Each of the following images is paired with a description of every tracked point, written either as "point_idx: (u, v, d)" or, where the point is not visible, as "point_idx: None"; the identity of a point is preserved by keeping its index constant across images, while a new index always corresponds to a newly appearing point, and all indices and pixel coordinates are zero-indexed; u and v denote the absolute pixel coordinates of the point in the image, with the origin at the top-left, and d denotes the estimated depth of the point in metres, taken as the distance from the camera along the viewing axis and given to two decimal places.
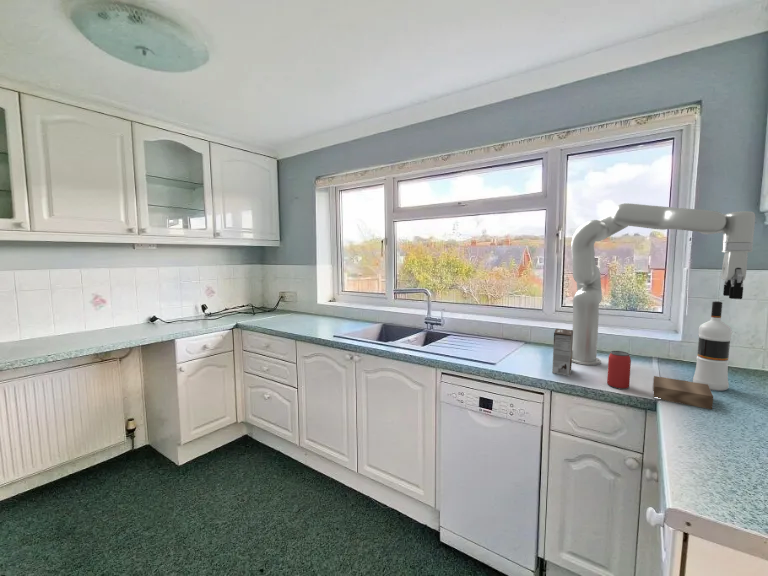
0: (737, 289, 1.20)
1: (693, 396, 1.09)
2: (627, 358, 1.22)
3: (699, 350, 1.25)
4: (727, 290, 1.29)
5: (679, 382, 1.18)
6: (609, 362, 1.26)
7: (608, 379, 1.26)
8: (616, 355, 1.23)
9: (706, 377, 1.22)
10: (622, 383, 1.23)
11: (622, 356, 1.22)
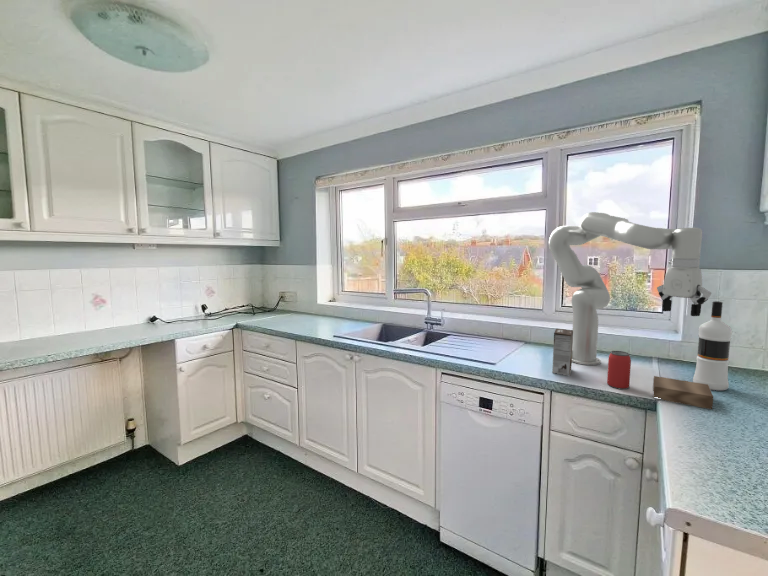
0: (699, 306, 1.19)
1: (693, 396, 1.09)
2: (627, 358, 1.22)
3: (699, 350, 1.25)
4: (666, 306, 1.29)
5: (679, 382, 1.18)
6: (609, 362, 1.26)
7: (608, 379, 1.26)
8: (616, 355, 1.23)
9: (706, 377, 1.22)
10: (622, 383, 1.23)
11: (622, 356, 1.22)
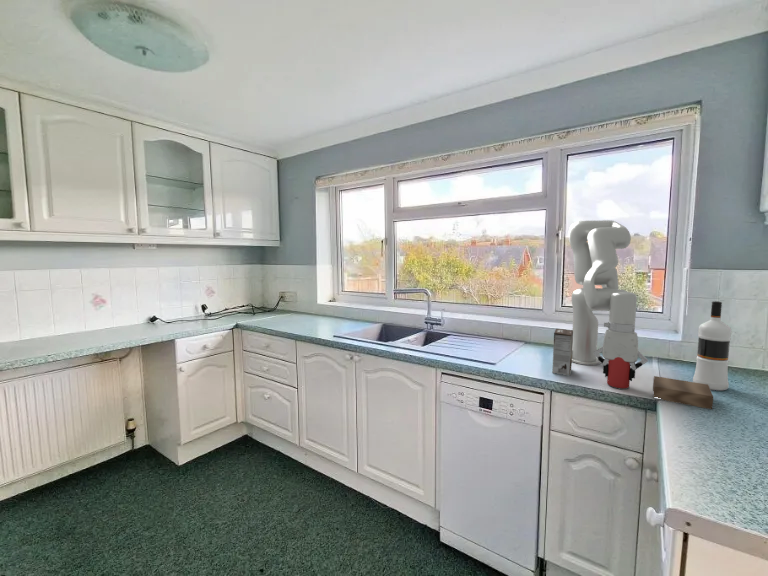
0: None
1: (693, 396, 1.09)
2: None
3: (699, 350, 1.25)
4: (607, 371, 1.27)
5: (679, 382, 1.18)
6: (609, 362, 1.26)
7: (608, 379, 1.26)
8: None
9: (706, 377, 1.22)
10: (622, 383, 1.23)
11: None
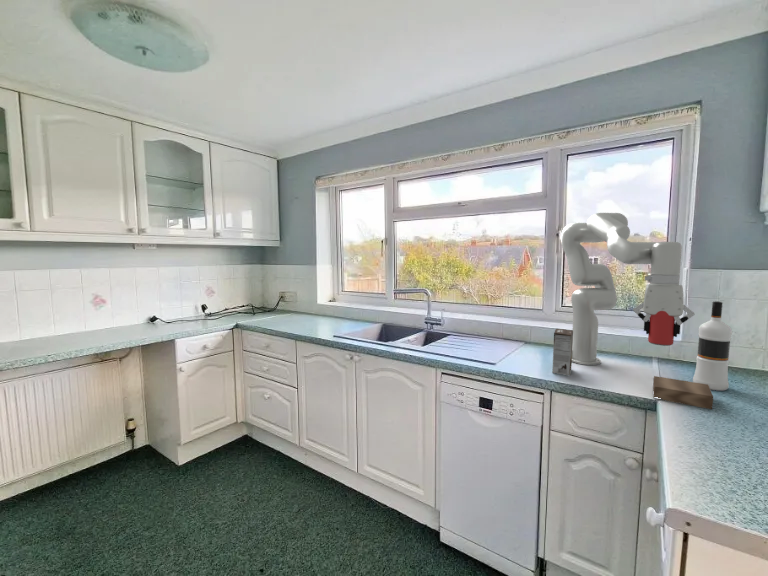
0: (679, 326, 1.14)
1: (693, 396, 1.09)
2: None
3: (699, 350, 1.25)
4: None
5: (679, 382, 1.18)
6: (651, 318, 1.17)
7: (650, 336, 1.18)
8: None
9: (707, 377, 1.22)
10: (666, 339, 1.14)
11: None
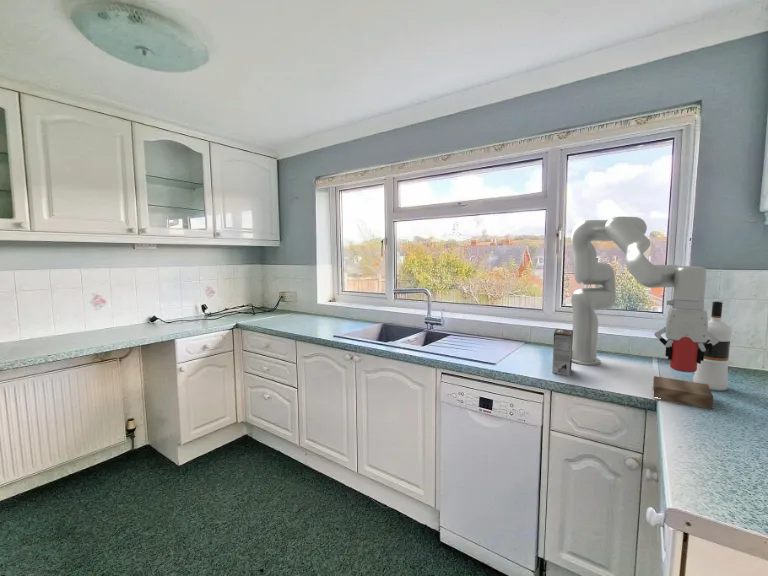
0: (703, 353, 1.12)
1: (693, 396, 1.09)
2: None
3: None
4: None
5: (679, 382, 1.18)
6: (673, 343, 1.15)
7: (672, 362, 1.15)
8: None
9: (707, 377, 1.22)
10: (690, 365, 1.12)
11: None
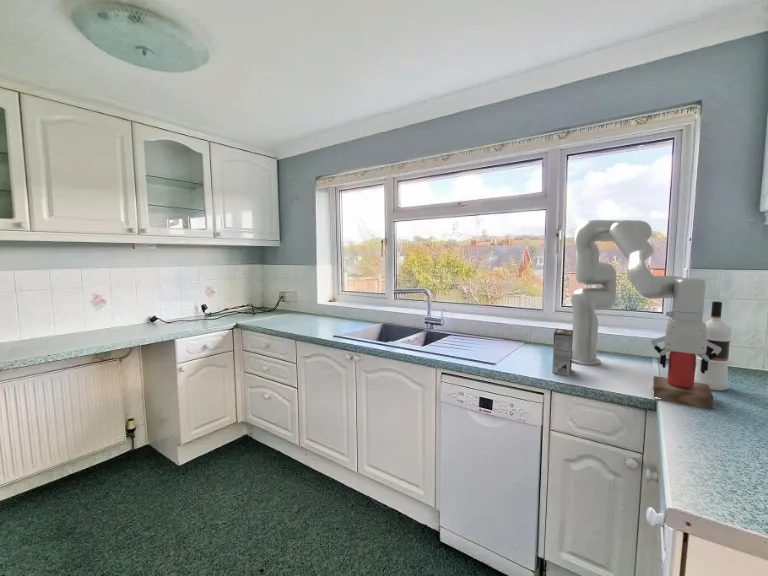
0: (707, 362, 1.11)
1: (693, 396, 1.09)
2: (692, 355, 1.12)
3: None
4: (665, 361, 1.17)
5: None
6: (671, 359, 1.15)
7: (670, 377, 1.16)
8: None
9: (706, 377, 1.22)
10: (687, 381, 1.12)
11: None
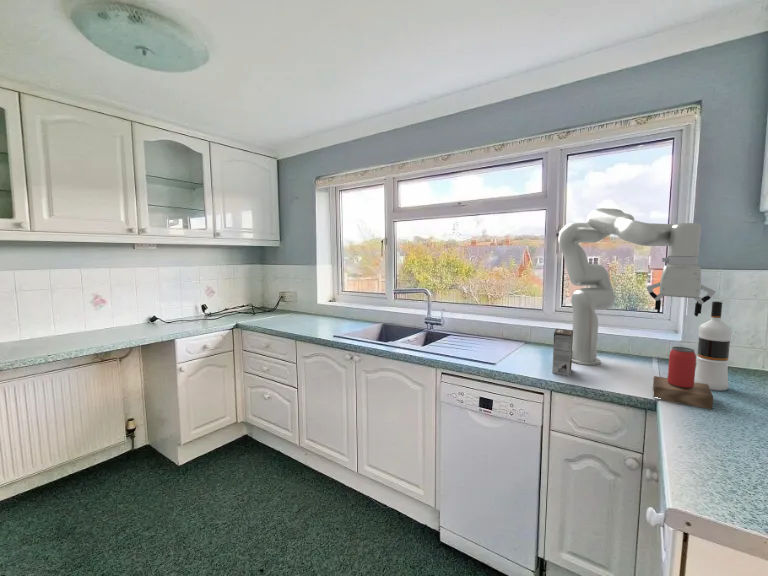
0: None
1: (693, 396, 1.09)
2: (693, 355, 1.12)
3: (699, 350, 1.25)
4: (660, 306, 1.20)
5: None
6: (671, 359, 1.15)
7: (670, 377, 1.16)
8: (680, 351, 1.13)
9: (707, 377, 1.22)
10: (687, 381, 1.12)
11: (687, 352, 1.12)
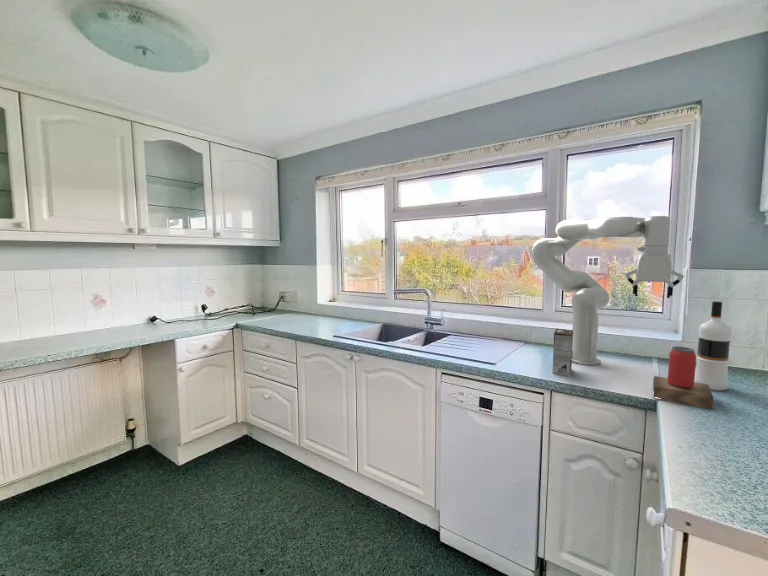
0: None
1: (693, 396, 1.09)
2: (693, 355, 1.12)
3: (699, 350, 1.25)
4: (637, 291, 1.35)
5: None
6: (671, 359, 1.15)
7: (670, 377, 1.16)
8: (680, 351, 1.13)
9: (707, 377, 1.22)
10: (687, 381, 1.12)
11: (687, 352, 1.12)
